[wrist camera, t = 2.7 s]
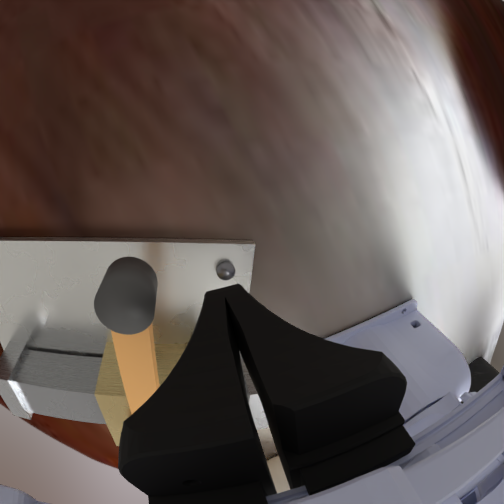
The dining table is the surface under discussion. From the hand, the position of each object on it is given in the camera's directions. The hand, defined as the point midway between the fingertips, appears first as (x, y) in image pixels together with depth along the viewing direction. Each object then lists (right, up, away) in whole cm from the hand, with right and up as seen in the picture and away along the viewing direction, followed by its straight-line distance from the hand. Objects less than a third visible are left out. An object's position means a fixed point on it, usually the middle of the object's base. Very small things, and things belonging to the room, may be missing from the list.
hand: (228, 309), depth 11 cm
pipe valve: (-8, -6, +7) cm, 12 cm away
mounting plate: (-9, -4, +6) cm, 12 cm away
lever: (-4, -4, +1) cm, 6 cm away
